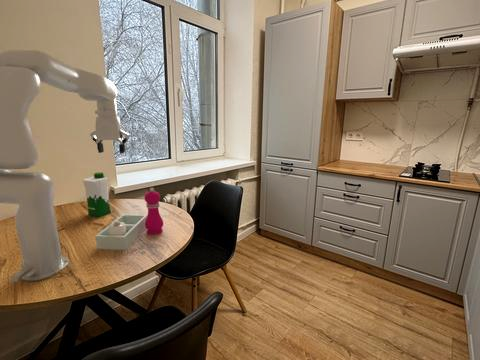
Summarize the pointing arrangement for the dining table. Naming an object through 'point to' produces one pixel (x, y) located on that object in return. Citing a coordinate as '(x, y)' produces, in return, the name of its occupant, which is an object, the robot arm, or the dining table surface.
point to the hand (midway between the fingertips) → (111, 152)
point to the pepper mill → (153, 213)
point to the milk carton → (97, 195)
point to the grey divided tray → (133, 230)
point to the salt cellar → (117, 229)
